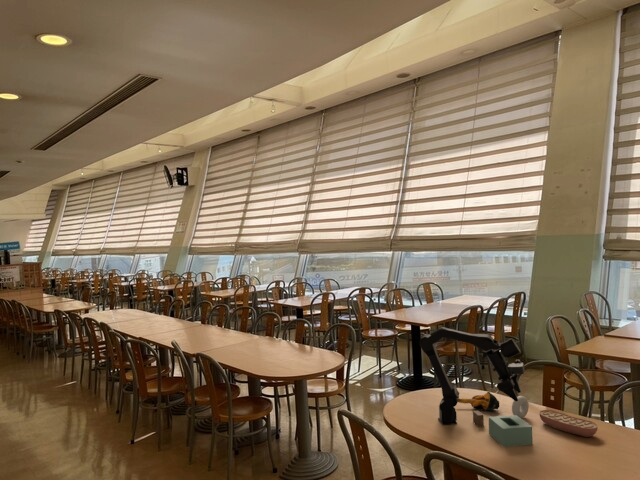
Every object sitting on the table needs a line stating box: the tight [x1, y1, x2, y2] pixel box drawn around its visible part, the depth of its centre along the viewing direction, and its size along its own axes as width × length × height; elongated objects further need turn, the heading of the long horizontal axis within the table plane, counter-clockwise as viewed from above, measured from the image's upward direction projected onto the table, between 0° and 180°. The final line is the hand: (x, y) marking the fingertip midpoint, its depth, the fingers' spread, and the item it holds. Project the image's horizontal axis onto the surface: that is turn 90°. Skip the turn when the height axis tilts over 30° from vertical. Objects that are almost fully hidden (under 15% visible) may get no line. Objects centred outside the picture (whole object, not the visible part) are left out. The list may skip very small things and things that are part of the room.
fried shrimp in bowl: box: [457, 391, 500, 412], centre depth 220 cm, size 9×11×18 cm
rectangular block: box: [472, 410, 485, 428], centre depth 203 cm, size 2×5×5 cm, turn 6°
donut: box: [511, 395, 530, 420], centre depth 208 cm, size 10×4×10 cm, turn 124°
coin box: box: [488, 414, 534, 448], centre depth 188 cm, size 12×12×7 cm
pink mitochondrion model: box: [539, 409, 599, 438], centre depth 195 cm, size 23×10×5 cm, turn 35°
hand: (518, 396), depth 196 cm, fingers open, 9 cm apart
